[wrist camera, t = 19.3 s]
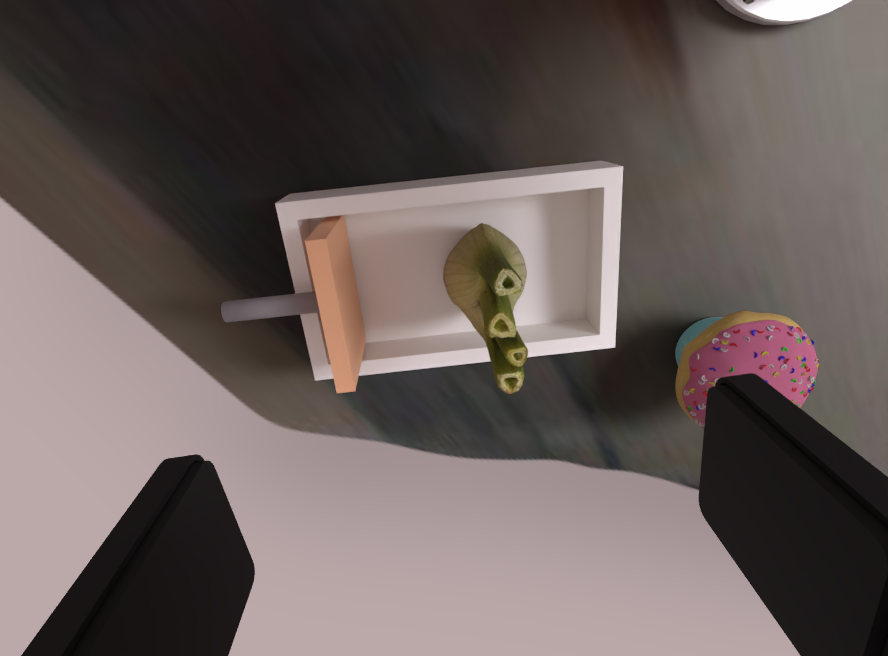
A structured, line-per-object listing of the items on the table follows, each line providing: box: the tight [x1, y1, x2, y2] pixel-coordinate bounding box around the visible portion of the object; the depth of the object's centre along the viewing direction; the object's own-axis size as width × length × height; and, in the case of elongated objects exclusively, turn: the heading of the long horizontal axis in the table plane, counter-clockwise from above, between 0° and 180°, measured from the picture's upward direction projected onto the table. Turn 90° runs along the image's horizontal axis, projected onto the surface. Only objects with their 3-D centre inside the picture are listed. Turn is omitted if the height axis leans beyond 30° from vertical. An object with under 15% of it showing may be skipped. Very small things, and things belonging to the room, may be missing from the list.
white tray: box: [275, 161, 623, 381], centre depth 31 cm, size 19×11×4 cm, turn 96°
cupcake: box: [675, 311, 819, 428], centre depth 31 cm, size 9×8×12 cm
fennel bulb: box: [443, 223, 528, 394], centre depth 26 cm, size 6×5×12 cm
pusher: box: [221, 215, 366, 393], centre depth 29 cm, size 7×8×7 cm
